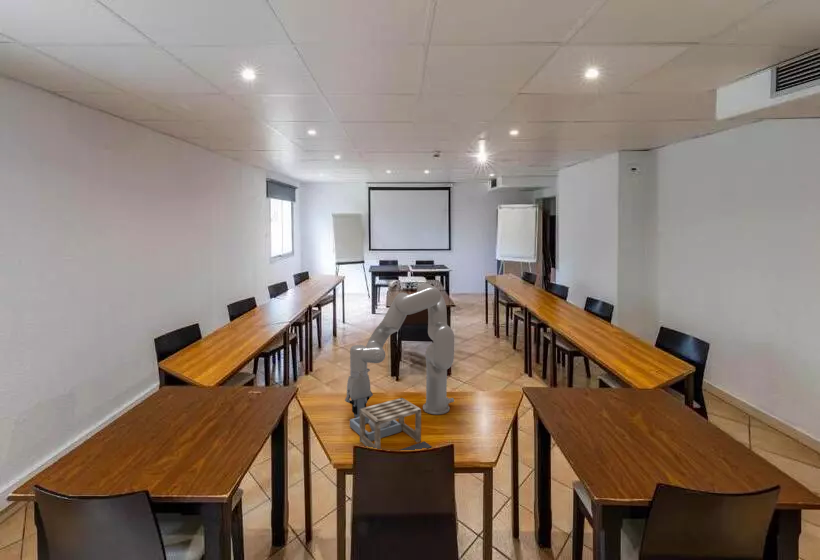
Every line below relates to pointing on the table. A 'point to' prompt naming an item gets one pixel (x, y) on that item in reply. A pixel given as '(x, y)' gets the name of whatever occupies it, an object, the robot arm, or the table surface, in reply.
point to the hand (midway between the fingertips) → (359, 412)
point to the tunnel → (390, 419)
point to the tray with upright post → (355, 422)
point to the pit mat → (418, 446)
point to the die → (383, 425)
